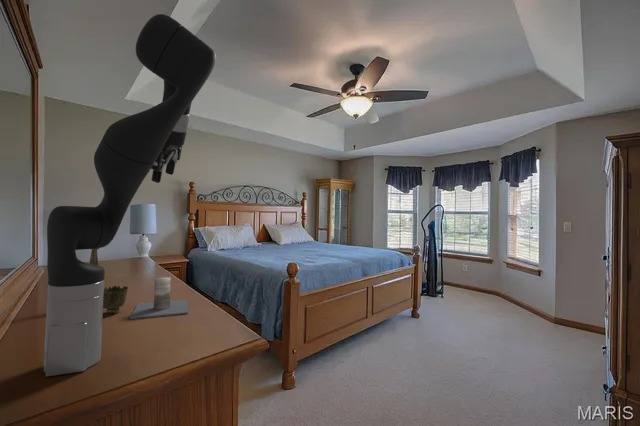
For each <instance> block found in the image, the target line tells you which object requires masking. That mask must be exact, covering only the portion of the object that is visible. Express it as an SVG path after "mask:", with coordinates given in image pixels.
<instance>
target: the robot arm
mask: <svg viewBox="0 0 640 426" xmlns="http://www.w3.org/2000/svg"><path fill="white" fill-rule="evenodd" d="M135 55H136V57H137V60H138V61H139V62H140V63H141V64H142V65H143V67H145V68H146V69H148V70H149V71H150V72H152V73H153V74H155V75H156V76H158V77H159V78H160V79H162V80H163V94H162V95H163V96H162V100H161V102H160V103H158V104H156V105H155V106H151V108H148V109H145V110H142V111H140V112H137V113H134V114H132V115H127V116H126V117H123V118H121V119H119V120H117V121H115V122H113V123H112V124H110V125H109V126H108V128H107V129H106V131H105V133H104V135H103V136H102V137H101V138H102V139H101V140H100V143H99V144H98V146H97V148H96V150H95V152H94V156H93V165H94V169H95V171H96V174H97V177H98V179H99V182H100V184H101V186H102V188H103V197H102V200H101V202H100V203H99V204H98V205H97V206H81V205H79V206H78V205H77V206H76V205H59V206H56V207H54V208H53V209H52V210H51V212H49V215H48V219H47V225H46V240H47V241H46V242H47V244H46V245H47V262H46V266H47V268H46V269H47V276H48V280H47V298H46V314H45V315H46V317H45V318H46V319H45V331H44V333H45V334H44V355H43V357H44V358H43V372H44V373H45V377H52V376H54V377H55V376H59V375H66V374H73V373H80V372H84V371H86V370H87V369H88V368H90V367H92V366H94V365H96V364H97V363H99V362H100V360H101V357H102V337H103V336H102V333H103V318H104V317H103V314H104V312H103V311H104V307H103V296H104V288H105V271H106V270H105V268H104V267H103V266H101V265H99V264H98V265H93V264H89V263H88V262H84V261H82V260H80V259H79V258H78V257H77V253H76V251H79V250H81V251H82V250H91V249H96V248H100V249H102V248H105V247H107V246H108V245H110V244H111V243H112V241H113V239H114V238H115V236H116V234H117V232H118V230H119V228H120V226H121V223H122V222H123V219H124V217H125V214H126V212H127V210H128V208H129V206H130V204H131V202H132V200H133V199H134V197H135V194H137V192H138V189H139V188H140V186H141V185H142V183H143V182H144V180H145V178H146V176H148V174H149V173H150V171H151V170H152V175H151V181H152V182H155V183H157V184H158V183H160V182H161V179H162V174H163V170H164V168H165V174H166V175H171V176H172V175H173V174H174V172H175V168H176V164H177V163H178V161H180V160H181V156H182V155H181V154H182V149H183V146H184V145H185V140H186V137H187V136H186V135H187V131H188V127H189V121H190V113H191V107H192V103H193V101H194V100H195V97H197V95H198V93H200V90H201V89H202V87H203V86H204V85H205V83H206V82H207V80H208V78H209V77H210V75H211V74H212V71H213V69H214V68H215V64H216V61H217V55H216V52H215V50H214V49H213V48H212V47H211V46H209V45H208V44H207V43H206V42H204V41H203V40H202V39H200V38H199V37H198V36H196V35H195V34H194V33H192V32H191V31H190V30H188V28H186V27H185V26H184V25H183V24H181V23H180V22H179V21H178V20H176V19H174V18H173V17H171V16H169V15H167V14H163V13H160V14H159V13H158V14H156V15H153V16H152V17H150V18H149V19H148V20H147V21H146V23H145V24H144V25H143V27H142V29H141V30H140V33H139V35H138V37H137V39H136V43H135ZM165 166H166V167H165Z"/></svg>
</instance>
